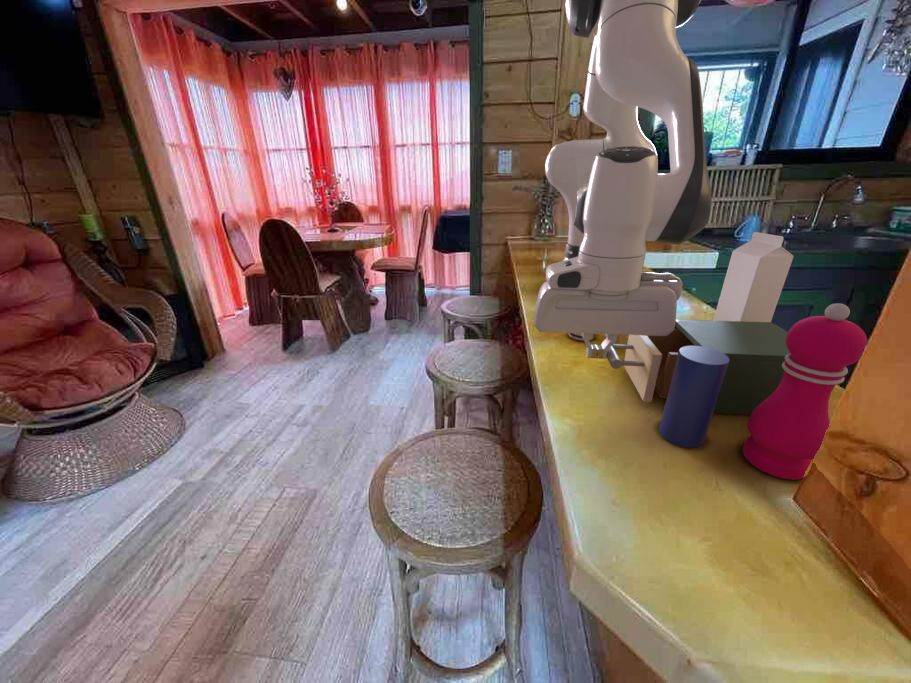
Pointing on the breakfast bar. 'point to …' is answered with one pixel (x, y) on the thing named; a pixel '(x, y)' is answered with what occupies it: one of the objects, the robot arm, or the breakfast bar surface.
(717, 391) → the can
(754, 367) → the cabinet
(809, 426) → the pepper mill
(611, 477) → the breakfast bar surface
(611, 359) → the drawer
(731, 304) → the milk
